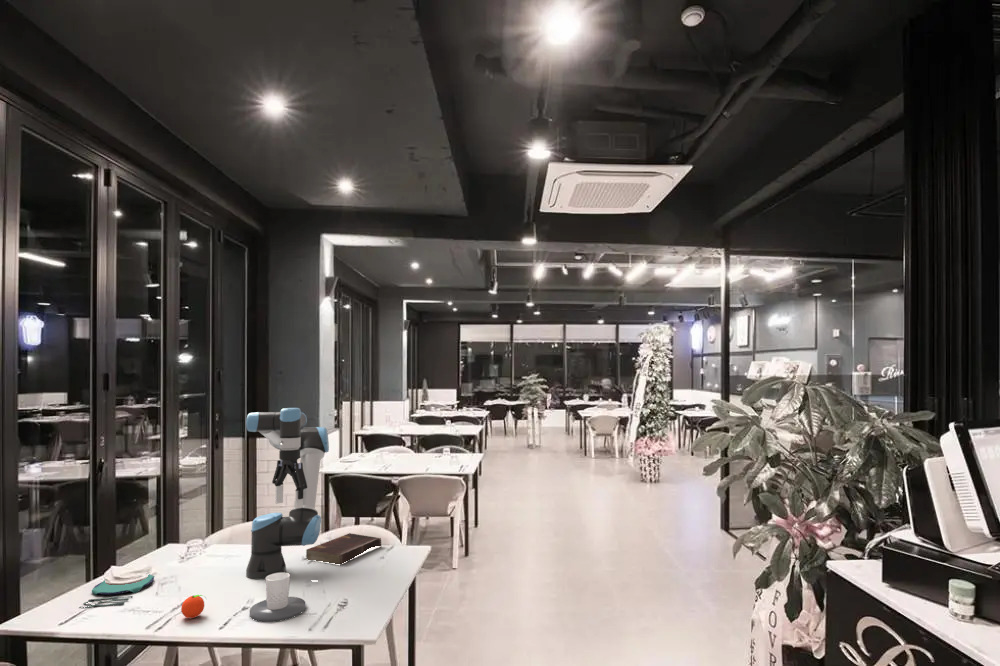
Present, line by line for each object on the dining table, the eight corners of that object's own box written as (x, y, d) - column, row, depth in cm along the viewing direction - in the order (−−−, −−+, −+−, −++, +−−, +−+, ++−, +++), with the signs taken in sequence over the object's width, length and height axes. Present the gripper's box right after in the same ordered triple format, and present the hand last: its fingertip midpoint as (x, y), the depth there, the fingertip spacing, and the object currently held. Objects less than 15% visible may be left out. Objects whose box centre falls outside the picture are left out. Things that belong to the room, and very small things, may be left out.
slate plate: (239, 612, 198) (239, 608, 198) (287, 596, 212) (287, 592, 212) (267, 626, 187) (267, 622, 187) (315, 609, 201) (316, 604, 201)
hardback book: (339, 566, 247) (340, 554, 247) (306, 561, 255) (306, 549, 255) (381, 548, 273) (381, 537, 274) (349, 543, 281) (349, 533, 281)
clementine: (201, 610, 201) (202, 589, 201) (211, 615, 196) (211, 593, 197) (177, 618, 194) (178, 596, 195) (186, 623, 190) (186, 601, 191)
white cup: (260, 609, 197) (260, 579, 198) (273, 600, 205) (274, 571, 205) (281, 611, 195) (281, 581, 196) (294, 602, 203) (294, 573, 204)
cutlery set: (162, 577, 235) (162, 571, 235) (128, 607, 206) (128, 600, 206) (108, 581, 232) (108, 575, 232) (66, 612, 202) (66, 605, 202)
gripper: (263, 447, 226) (262, 502, 225) (299, 452, 211) (298, 511, 209) (281, 445, 232) (280, 499, 231) (317, 450, 217) (316, 508, 215)
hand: (288, 505), depth 220 cm, fingers open, 13 cm apart
